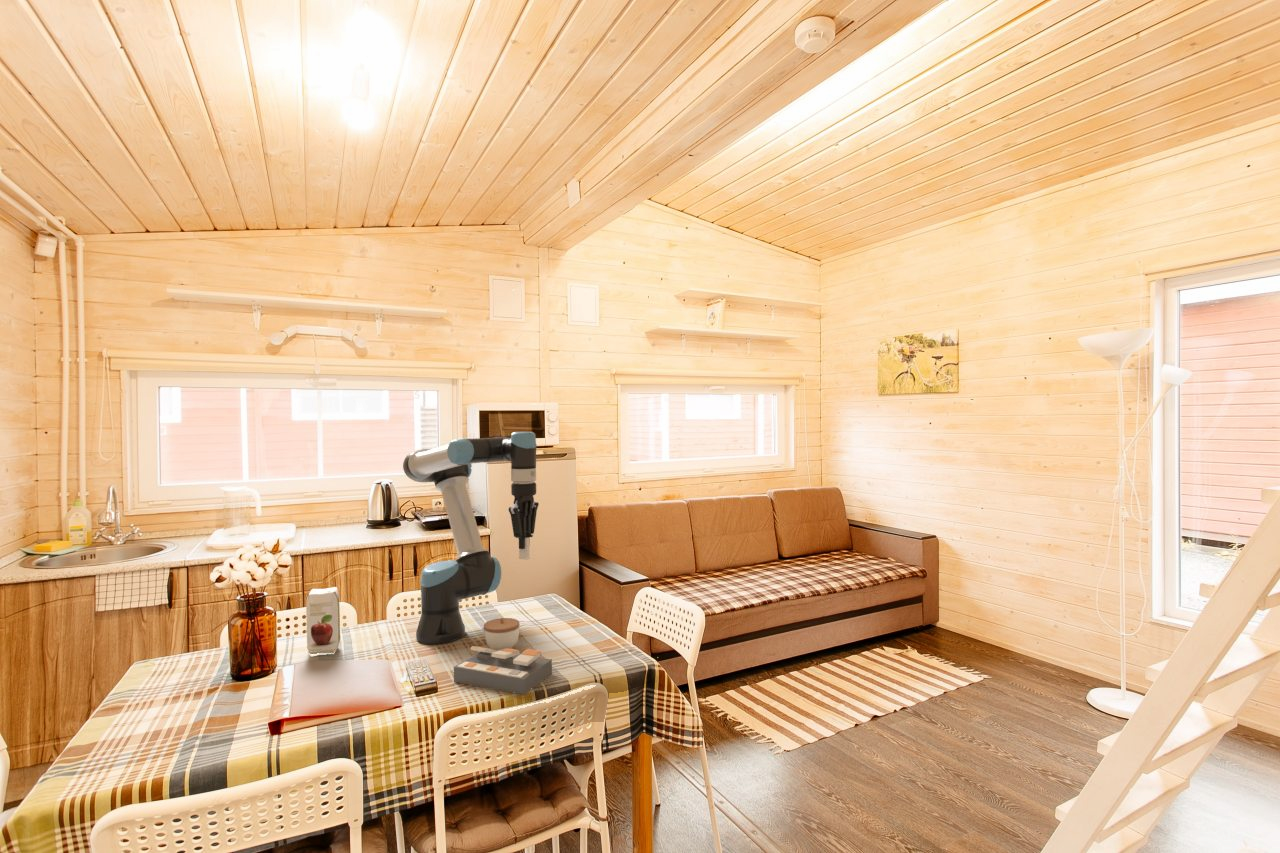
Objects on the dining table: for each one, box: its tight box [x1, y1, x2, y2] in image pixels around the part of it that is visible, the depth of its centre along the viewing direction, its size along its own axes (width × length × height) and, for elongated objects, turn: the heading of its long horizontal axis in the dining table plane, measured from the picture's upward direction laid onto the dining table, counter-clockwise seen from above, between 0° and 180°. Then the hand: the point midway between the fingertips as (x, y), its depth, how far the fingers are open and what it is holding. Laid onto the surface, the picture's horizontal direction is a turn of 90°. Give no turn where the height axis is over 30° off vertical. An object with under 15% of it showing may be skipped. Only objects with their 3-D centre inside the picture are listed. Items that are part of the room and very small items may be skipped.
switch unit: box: [453, 651, 553, 695], centre depth 171 cm, size 22×14×5 cm, turn 68°
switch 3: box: [513, 648, 542, 666], centre depth 169 cm, size 4×7×1 cm, turn 158°
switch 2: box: [491, 648, 520, 659], centre depth 172 cm, size 4×7×1 cm, turn 158°
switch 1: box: [470, 645, 498, 654], centre depth 175 cm, size 4×7×1 cm, turn 158°
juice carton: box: [305, 586, 341, 654], centre depth 191 cm, size 8×9×19 cm
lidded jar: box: [483, 617, 520, 651], centre depth 193 cm, size 11×11×9 cm
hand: (524, 558), depth 193 cm, fingers closed
